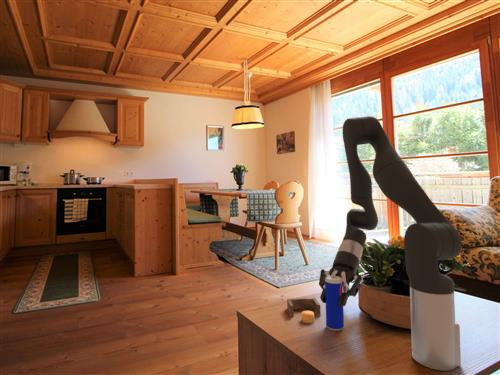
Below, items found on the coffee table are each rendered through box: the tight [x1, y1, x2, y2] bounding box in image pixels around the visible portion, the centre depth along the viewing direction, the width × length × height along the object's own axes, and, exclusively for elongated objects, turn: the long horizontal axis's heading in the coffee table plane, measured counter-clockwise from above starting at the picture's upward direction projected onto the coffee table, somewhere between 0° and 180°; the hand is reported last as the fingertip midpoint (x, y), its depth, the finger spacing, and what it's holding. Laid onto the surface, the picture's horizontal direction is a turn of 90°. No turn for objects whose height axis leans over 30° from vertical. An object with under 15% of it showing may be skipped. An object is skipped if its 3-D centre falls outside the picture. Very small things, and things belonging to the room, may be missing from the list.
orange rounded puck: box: [301, 310, 315, 324], centre depth 96 cm, size 4×4×2 cm
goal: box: [286, 297, 321, 318], centre depth 103 cm, size 10×7×4 cm
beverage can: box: [325, 275, 345, 332], centre depth 91 cm, size 5×5×15 cm
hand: (331, 303), depth 89 cm, fingers closed on beverage can, 5 cm apart
